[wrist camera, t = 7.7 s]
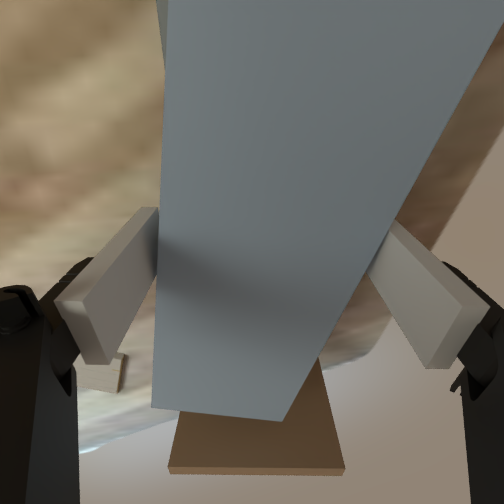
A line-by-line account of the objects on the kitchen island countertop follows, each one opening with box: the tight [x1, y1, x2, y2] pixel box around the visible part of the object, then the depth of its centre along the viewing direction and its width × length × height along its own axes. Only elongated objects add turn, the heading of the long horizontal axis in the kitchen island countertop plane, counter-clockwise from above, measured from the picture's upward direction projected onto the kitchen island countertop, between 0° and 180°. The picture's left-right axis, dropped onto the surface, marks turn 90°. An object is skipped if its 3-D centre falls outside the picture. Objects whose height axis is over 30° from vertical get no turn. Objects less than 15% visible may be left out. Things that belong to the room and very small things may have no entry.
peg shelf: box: [156, 0, 345, 476], centre depth 15 cm, size 12×33×13 cm, turn 179°
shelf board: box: [151, 0, 504, 422], centre depth 13 cm, size 9×26×4 cm, turn 167°
